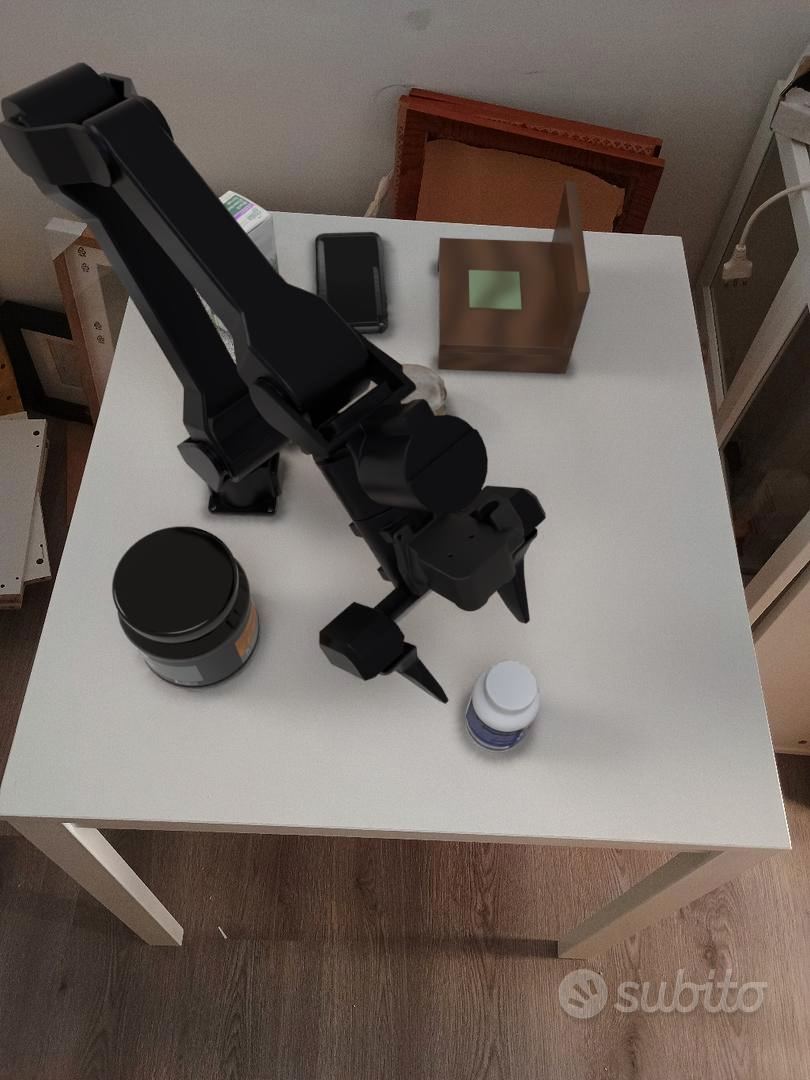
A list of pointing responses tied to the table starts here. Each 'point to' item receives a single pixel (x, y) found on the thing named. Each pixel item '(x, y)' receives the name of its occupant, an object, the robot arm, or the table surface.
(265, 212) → the syrup box
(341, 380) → the robot arm
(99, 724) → the table surface
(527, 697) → the pill bottle
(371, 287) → the phone
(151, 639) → the supplement container
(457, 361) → the wooden corner stand
